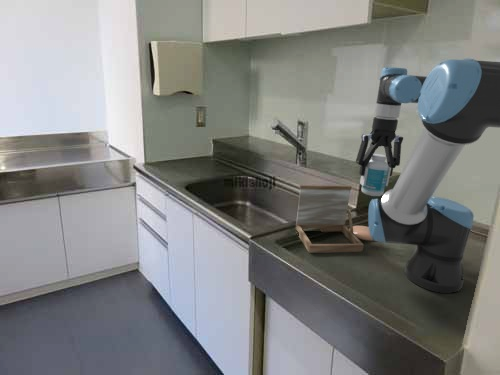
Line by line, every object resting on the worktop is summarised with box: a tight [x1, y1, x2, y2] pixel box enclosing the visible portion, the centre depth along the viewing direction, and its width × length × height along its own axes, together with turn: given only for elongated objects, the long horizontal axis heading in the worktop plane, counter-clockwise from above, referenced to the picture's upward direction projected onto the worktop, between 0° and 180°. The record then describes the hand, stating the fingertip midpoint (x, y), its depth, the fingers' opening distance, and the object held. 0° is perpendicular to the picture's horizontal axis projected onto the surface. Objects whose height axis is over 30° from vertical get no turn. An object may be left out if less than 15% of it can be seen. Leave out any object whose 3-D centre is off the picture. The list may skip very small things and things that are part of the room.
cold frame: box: [295, 184, 365, 254], centre depth 121 cm, size 16×19×17 cm
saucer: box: [348, 225, 376, 242], centre depth 131 cm, size 11×11×1 cm
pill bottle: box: [361, 153, 389, 197], centre depth 124 cm, size 8×7×14 cm
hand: (373, 184), depth 125 cm, fingers closed on pill bottle, 7 cm apart
